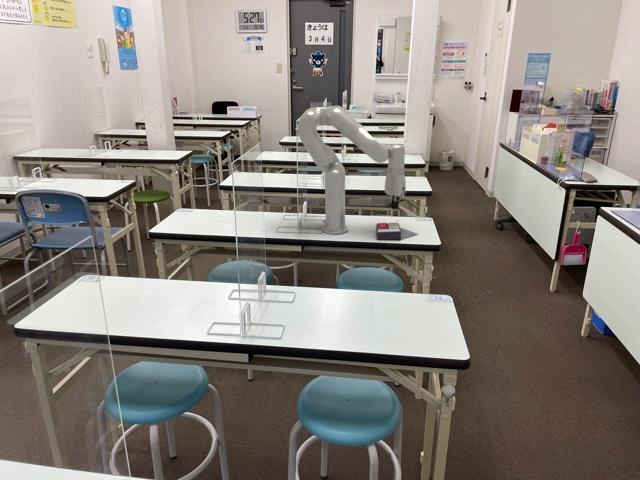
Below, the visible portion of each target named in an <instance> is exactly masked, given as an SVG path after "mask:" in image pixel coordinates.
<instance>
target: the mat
mask: <svg viewBox="0 0 640 480" xmlns="http://www.w3.org/2000/svg"><path fill="white" fill-rule="evenodd" d="M400 230H401V239H400V240H401V241H402V240H406V239H407V238H411V237H414V236H418V235H419V233H416V232H414V231H411V230H408V229H406V228H403V227H400Z"/></svg>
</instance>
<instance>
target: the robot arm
mask: <svg viewBox="0 0 640 480" xmlns="http://www.w3.org/2000/svg"><path fill="white" fill-rule="evenodd" d="M327 125H328V126H329V125H331V126H332V127H334V128H335V129H336V130H337V131H338V132H340V133H341V134H342V135H343V136H344V137H345V138H347V139H348V140H349V141H350V142H351V143H353V144H354V145H355V146H356V147H357V148H358V149H359V150H361V151H362V152H363V153H364V154H365V155H367V156H368V157H369V158H370V159H372V161H374V162H375V163H378V164H381V163H382V164H383V163H385V162H387V161H388V162H387V173H386V174H385V175H386V176H385V183H384V193H385V194H386V195H387V196H389V198H390V201H391V209H392V210H397V209H399V206H400V203H399V202H400V200H402V199H405V195H406V192H407V191H406V190H407V188H406V187H407V184H406V183H407V181H406V175H405V158H406V147H405V145H404V144H401V143H392V144H390V143H389V144H388V143H380V142H379V141H377V140H376V139H375V138H374V137H373V136H371V134H370V133H369V132H368V131H367V129H366V128H365V127H364V126H363V125H362V123H360V122H358V121H357V120H356V119H355V118H354V117H352V116H351V115H350V114H349V113H348V112H346V110H345V109H344V108H343V107H342V106H340V105H329V106H317V107H309V108H308V109H306V110H305V111H304V112H303V113H302V115H301V116H300V118H299V121H298V123H297V133H298V137H299V139H300V141H301V143H302V144H303V146H304V148H306V151H307V152H308V154H309V156H310V157H311V160H313V162H314V164H315V165H316V166H317V167H318V168H321V169H322V171H323V172H324V193H325V195H324V196H325V198H324V200H325V201H324V202H325V204H324V205H325V219H323V220H322V223H324V226H323V227H322V231H323V233H326V234H330V235H340V234H341V235H342V234H345V233H347V232H349V226H347V225H346V169H345V167H344V165H343V163H342V162H341V160H340V159H339V158H338V155H337V154H336V153H335V150H334V149H333V148H332V147H331V146H330V145H328V144H325V142H324V140H323V139H322V137H321V136H320V134H319V133H318V130H317V127H318V126H327Z"/></svg>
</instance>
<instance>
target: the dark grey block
mask: <svg viewBox="0 0 640 480" xmlns="http://www.w3.org/2000/svg"><path fill="white" fill-rule="evenodd" d="M400 228H401V226H400V223H398V222H388V223H387V222H378V223H377V224H376V229H375V230H376V240H378V241H379V240H381V241H382V240H384V241H386V240H401V230H400Z"/></svg>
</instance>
